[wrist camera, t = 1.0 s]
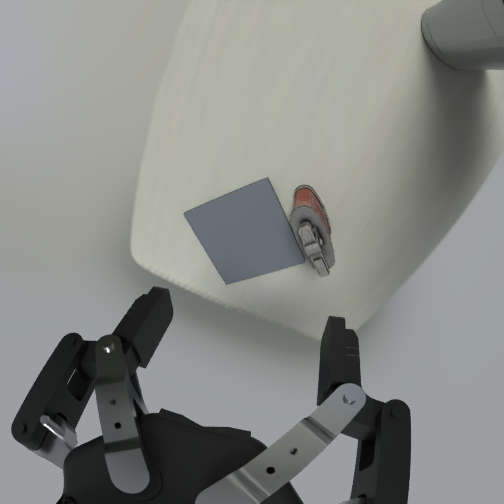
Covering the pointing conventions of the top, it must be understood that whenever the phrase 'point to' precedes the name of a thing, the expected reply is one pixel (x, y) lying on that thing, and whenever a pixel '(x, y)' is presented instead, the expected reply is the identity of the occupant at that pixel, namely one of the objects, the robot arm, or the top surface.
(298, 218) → the lighter
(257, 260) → the mat
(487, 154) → the top surface
